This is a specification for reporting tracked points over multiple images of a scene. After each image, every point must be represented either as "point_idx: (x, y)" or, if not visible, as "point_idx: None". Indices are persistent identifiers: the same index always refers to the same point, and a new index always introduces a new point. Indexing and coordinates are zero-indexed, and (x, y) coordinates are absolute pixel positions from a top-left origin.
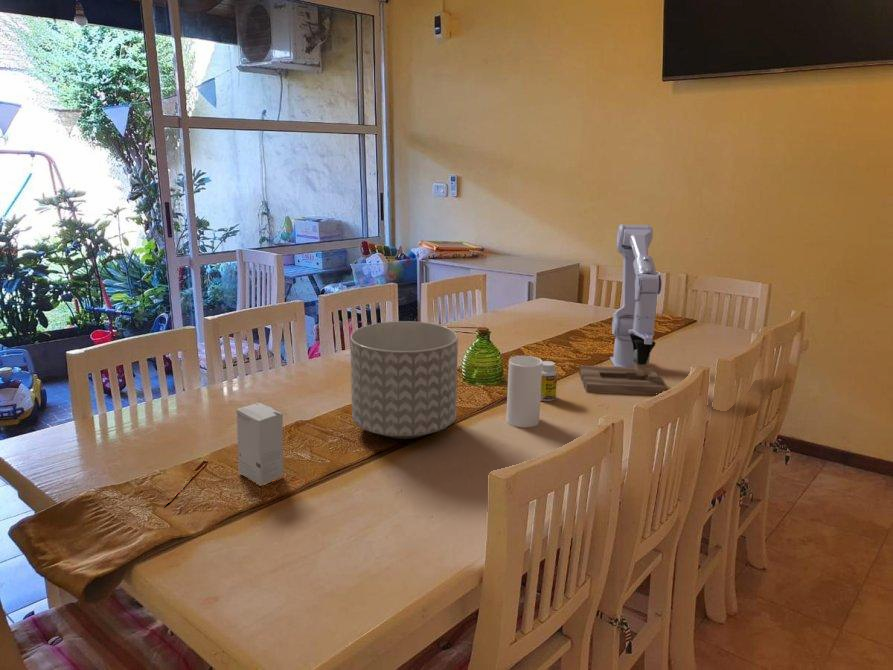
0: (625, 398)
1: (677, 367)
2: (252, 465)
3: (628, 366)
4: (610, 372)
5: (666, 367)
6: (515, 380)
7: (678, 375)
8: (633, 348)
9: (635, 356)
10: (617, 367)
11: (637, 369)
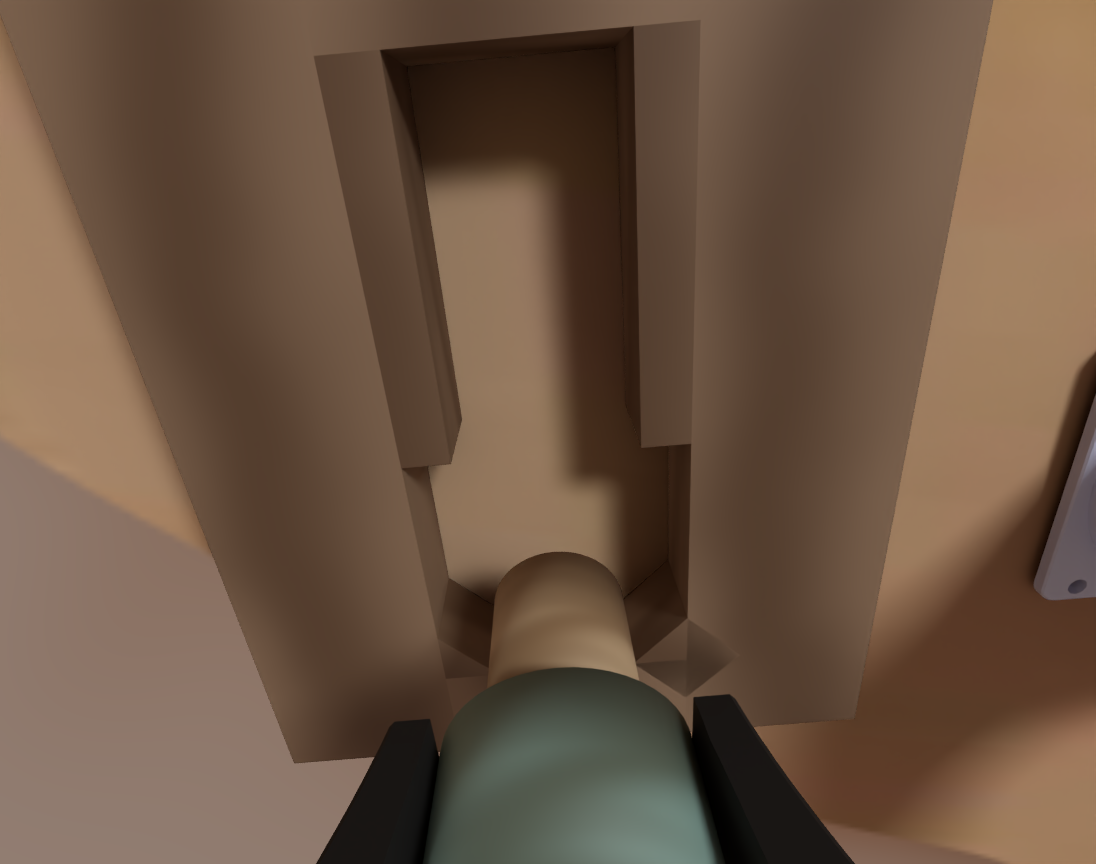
0: (48, 355)
1: (1018, 826)
2: None
3: (1083, 490)
4: (668, 238)
5: (1032, 767)
6: None
7: (826, 813)
8: (808, 862)
9: (490, 783)
10: (901, 364)
11: (504, 628)
